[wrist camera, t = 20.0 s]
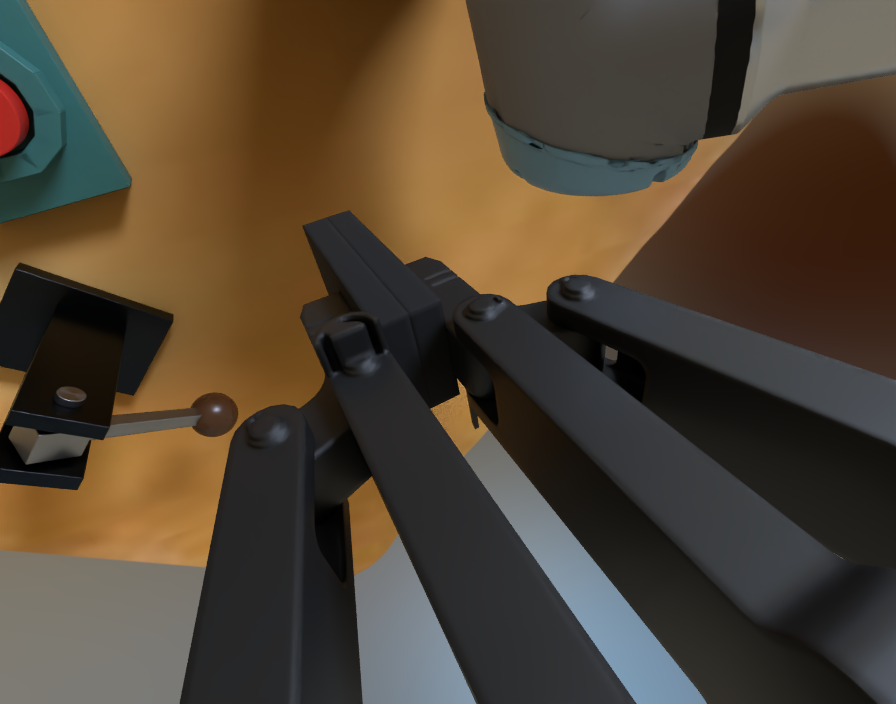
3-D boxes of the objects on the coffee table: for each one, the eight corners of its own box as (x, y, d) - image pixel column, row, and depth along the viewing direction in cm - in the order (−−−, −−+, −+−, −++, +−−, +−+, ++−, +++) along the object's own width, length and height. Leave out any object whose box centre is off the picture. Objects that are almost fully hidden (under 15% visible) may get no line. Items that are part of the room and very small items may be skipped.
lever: (229, 382, 39) (254, 409, 37) (211, 415, 39) (234, 442, 38) (21, 391, 26) (48, 433, 24) (-1, 439, 26) (24, 482, 25)
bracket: (173, 314, 38) (173, 418, 28) (134, 388, 40) (121, 512, 29) (19, 262, 32) (-57, 372, 21) (-19, 352, 33) (-107, 495, 23)
